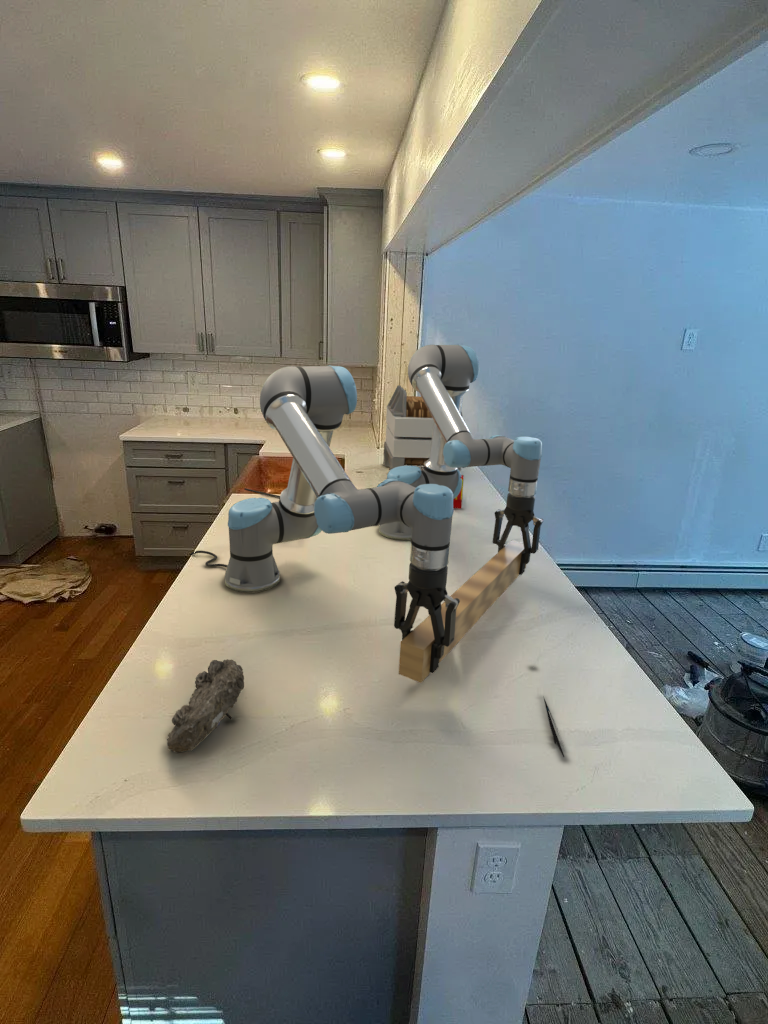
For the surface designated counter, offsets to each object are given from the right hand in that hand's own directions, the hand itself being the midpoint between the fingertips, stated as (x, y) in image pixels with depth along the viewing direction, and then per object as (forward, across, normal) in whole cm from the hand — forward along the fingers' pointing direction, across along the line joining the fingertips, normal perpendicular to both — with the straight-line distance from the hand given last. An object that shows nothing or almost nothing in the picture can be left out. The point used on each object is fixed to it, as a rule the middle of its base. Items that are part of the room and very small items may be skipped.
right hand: (511, 570), depth 164 cm
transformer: (+5, -77, +89) cm, 118 cm away
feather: (+5, +25, -48) cm, 55 cm away
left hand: (0, 0, -56) cm, 56 cm away
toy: (+5, -51, +62) cm, 80 cm away
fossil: (+5, -28, -87) cm, 92 cm away
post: (0, 0, -28) cm, 28 cm away
